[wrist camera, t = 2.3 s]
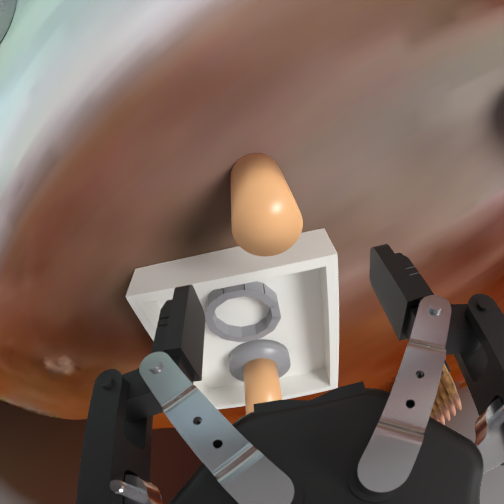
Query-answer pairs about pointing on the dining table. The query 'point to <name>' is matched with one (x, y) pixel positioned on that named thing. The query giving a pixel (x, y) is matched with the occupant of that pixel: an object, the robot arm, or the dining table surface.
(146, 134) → the dining table surface
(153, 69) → the dining table surface
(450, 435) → the robot arm
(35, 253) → the dining table surface
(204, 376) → the housing
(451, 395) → the ammunition clip
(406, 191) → the dining table surface
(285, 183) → the tan rounded sausage
